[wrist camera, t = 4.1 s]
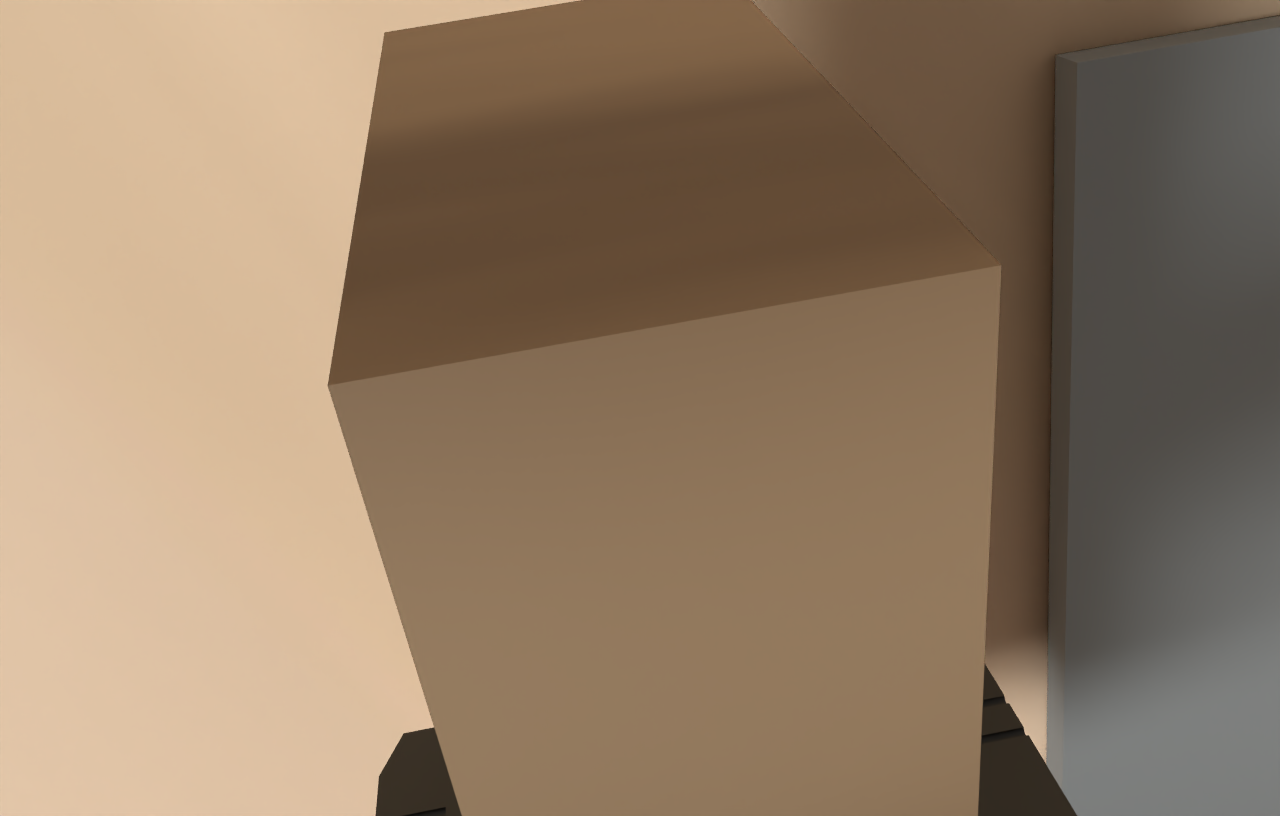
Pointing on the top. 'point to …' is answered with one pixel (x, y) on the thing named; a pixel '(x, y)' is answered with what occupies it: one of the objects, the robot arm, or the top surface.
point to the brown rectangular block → (669, 421)
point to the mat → (1166, 426)
